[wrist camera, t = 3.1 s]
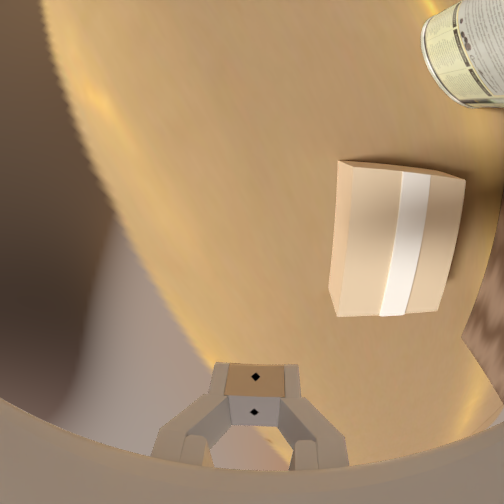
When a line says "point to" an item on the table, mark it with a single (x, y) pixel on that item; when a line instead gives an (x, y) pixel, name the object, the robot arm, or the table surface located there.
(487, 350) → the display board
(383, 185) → the carton
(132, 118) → the table surface
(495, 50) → the coffee can
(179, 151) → the table surface
